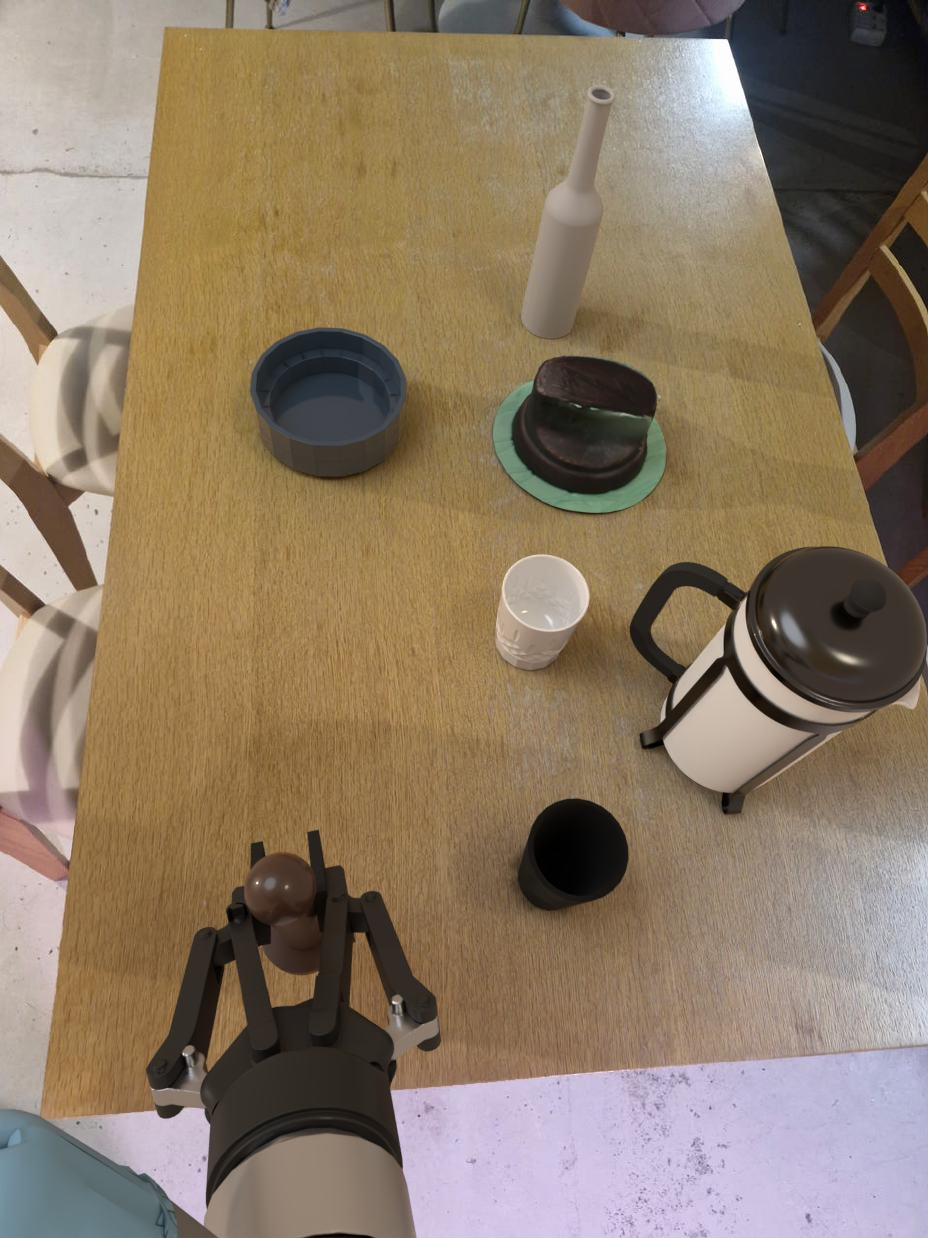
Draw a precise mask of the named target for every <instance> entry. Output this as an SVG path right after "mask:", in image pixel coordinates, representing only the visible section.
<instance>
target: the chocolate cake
mask: <svg viewBox="0 0 928 1238" xmlns="http://www.w3.org/2000/svg"><path fill="white" fill-rule="evenodd" d="M658 401H659V402H660V401H661V395H660V394H659V393H657V387H656V386H655V385H654V381H653V380H651V379H650V378H649V377H648V376H647V375H646V374H645V373H644V372H643V371H640V370H638V369H637V368H635V367H634V366H633V365H631V364H628V363H624V362H620V361H617V360H614V359H612V358H609V357H599V356H592V355H586V356H580V355H573V354H571V355H561V356H554V357H552V358H549V359H546V360H544V361H543V362H542V363H541V365H540V366H539V367H538V369H537V372H536V374H535V376H534V378H533V380H531V381H527V382H526V383H523V384H522V385H520V386H519V387H517V388H515V389H514V390H513V391H512V392H511V393H509V395H508V396H507V397H506V398H505V399H504V400H503V402H502V403H501V404H500V406H499V408H498V410H497V412H496V415H495V418H494V421H493V425H492V426H493V428H492V440H493V445H494V451H495V453H496V455H497V458H498V460H499V461H500V463H501V465H502V466H503V468H504V470H505V472H506V474H507V475H509V477H510V478H511V479H512V480H513V481H514V482H515V483H516V484H517V485H518V486H519V487H520V488H522V489H523V490H525V491H526V492H528V494H530V495H532V496H533V497H535V498H537V499H538V500H540V501H541V502H542V503H545V504H548V505H550V506H553V507H556V508H558V509H559V508H560V509H564V510H567V511H573V512H581V513H591V514H592V513H593V514H594V513H595V514H596V513H598V514H599V513H611V512H615V511H616V512H617V511H622V510H625V509H628V508H630V507H633V506H634V505H636V504H638V503H640V502H641V501H642V500H644V499H646V497H647V496H648V495H649V494H650V493H651V492H652V491H654V489H655V488H656V487H657V485H658V483H659V482H660V480H661V478H662V477H663V474H664V471H665V469H666V468H665V467H666V461H667V446H666V440H665V437H664V434H663V431H662V428H661V426H660V424H659V422H658V420H657V419H656V417H655V416H656V412H657V407H658Z"/></svg>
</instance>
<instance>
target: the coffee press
mask: <svg viewBox="0 0 928 1238" xmlns="http://www.w3.org/2000/svg"><path fill="white" fill-rule="evenodd" d="M683 587H691V588H695V589H699V590H701V591H703V592H704V593H707V594H708V595H710V596H712V597H714V598H715V597H716V598H717V599H718V600H719V602H721V603H722V604H724V605H725V606H727V607H728V608H729V609H730V610H731V611H730V613H729V614H728V617H727V619H726V622H725V623H724V624H723V625H722V627H721V628H720V629H719V630H718V632H717V633H716V634H715V635H714V637H713V638H712V639H711V640H710V642H709V643H708V644H707V645H706V647H705V648H703V650H702V651H701V653H700V654H699V655H698V656H697V657H696V659H695V660H694V661H693V662H691V663H689V664H688V665H687V666H685V665H683V664H682V663H679V662H677V661H676V660H674V658H672V657H671V656H669V655H668V654H667V653H666V652H665V651H663V649H661V648H660V647H659V645H657V643H656V641H655V640H654V637H653V635H652V627H653V624H654V623H655V621H656V619H658V616H659V615H660V613H661V611H662V610H663V609H664V607H665V605H666V604H667V602H668V601H669V599H670V598H671V597H672V595H673V593H674V592H675V590H677V589H680V588H683ZM629 636H630V640H631V642H632V645H633V646H634V648H635V650H636V651H637V652H638V654H640V656H641V657H642V658H643V660H644V661H646V662H647V663H648V664H650V665H651V667H653V668H654V669H655V670H656V671H657V672H659V673H660V674H661V675H662V676H664V677H665V678H666V680H667V681H668V682H669V683H671V684H672V685H671V686H670V689H669V691H668V693H667V696H666V698H665V700H664V702H663V704H662V708H661V710H660V711H661V712H660V720H659V721H660V723H659V724H658V725H656V726H654V727H652V728H650V729H647V730H645V731H642V732H640V733H639V734H638V735H639V742H640V746H641V749H642V750H652V749H656V748H660V747H665V749H666V751H667V753H668V755H669V757H670V758H671V760H672V761H673V763H674V764H675V766H676V767H677V768H678V769H679V770H680V771H681V772H682V773H683V774H684V775H686V776H687V777H688V778H689V779H690V780H692V781H693V782H695V783H697V784H699V785H700V786H703V787H705V788H706V789H710V790H712V791H716V792H719V793H721V801H720V807H721V811H722V813H723V814H724V815H726V816H727V815H740V814H742V811H743V808H744V803H745V799H746V796H747V795H749V793H750V792H752V791H753V790H756V789H758V788H761V786H763V785H766V784H767V783H768V782H770V781H771V780H774V779H775V778H776V777H778V776H779V775H781V774H782V773H784V772H785V771H787V770H788V769H789V768H790V767H792V766H793V765H795V764H796V763H798V762H799V761H801V760H802V759H804V758H805V757H806V756H808V755H809V754H811V753H812V752H814V751H815V750H817V749H819V748H820V747H821V746H823V745H824V744H826V743H827V742H828V741H830V740H832V739H833V738H834V737H836V736H837V735H839V734H840V733H841V732H843V731H846V730H849V729H851V728H854V727H855V726H857V725H859V724H861V723H862V722H863V721H866V719H868V718H869V717H871V716H872V715H874V714H875V713H876V712H877V711H879V710H881V709H884V708H886V707H889V706H894V705H899V706H902V707H903V708H905V709H907V710H914V709H915V708H916V707H917V705H918V701H919V696H920V690H921V681H922V680H921V679H922V678H921V677H922V675H923V672H924V669H925V665H926V662H927V656H928V640H927V639H928V633H927V625H926V620H925V616H924V613H923V611H922V608H921V605H920V604H919V601H918V600H917V598H916V596H915V594H914V593H913V591H912V590H911V588H909V586H908V585H907V583H906V582H905V581H904V580H903V579H902V578H901V577H900V576H899V575H898V574H897V573H896V572H895V571H894V570H892V569H891V568H889V566H887V565H886V564H885V563H883V562H881V561H879V560H877V559H876V558H874V557H872V556H870V555H868V554H865V553H864V552H861V551H858V550H854V549H851V548H848V547H846V548H845V547H841V546H835V545H834V546H833V545H820V546H803V547H799V548H794V549H791V550H787V551H785V552H783V553H780V554H779V555H777V556H775V557H774V558H772V559H771V560H770V561H769V562H767V563H766V565H764V566H763V567H762V568H761V569H760V571H759V572H758V573H757V574H756V576H755V578H754V579H753V580H752V582H751V585H750V587H749V589H748V590H746V591H744V590H742V589H741V588H740V587H739V586H737V585H736V584H734V583H733V582H730V581H729V578H727V577H726V576H724V575H723V574H721V573H720V572H719V571H717V570H715V569H713V568H711V567H709V566H707V565H705V564H701V563H698V562H694V561H680V562H675V563H673V564H671V565H670V566H668V567H667V568H665V569H664V570H663V571H662V572H661V573H660V574H659V576H658V577H657V578H656V579H655V580H654V581H653V583H652V584H651V586H650V587H649V589H648V591H647V592H646V594H645V595H644V597H643V599H642V600H641V602H640V604H639V605H638V607H637V608H636V610H635V613H634V614H633V616H632V618H631V621H630V624H629Z"/></svg>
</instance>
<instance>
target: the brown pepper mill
mask: <svg viewBox="0 0 928 1238" xmlns="http://www.w3.org/2000/svg"><path fill="white" fill-rule="evenodd" d="M243 886H244V897H245V902H246V905H247V907H248V909H249V911H250V912H251V914H252V915H253V916H254V917H255V918H256V919H258V920H259V921H260V922H262V923H265V924H267V925H271V944H267V945H263V946H261V948H262V950H263V953H264V955H265V957H266V958H267V959H268V960H269V961H270V962H271V963H272V964H273V965H274V966H275V967H276V968H278V969H279V970H280V971H282V972H284V973H286V974H289V975H292V976H293V975H294V976H309V975H313V974H316V973H319V964H320V955H321V946H322V937H323V932H321V933H320V930H319V924H318V919H317V913H316V907H315V900H314V899H315V895H316V878H315V875H314V872H313V870H312V869H311V867H310V863H308V862H307V861H306V860H305V859H304V858H303V857H301V856H299V855H298V854H296V853H292V852H287V851H279V852H273V853H270V854H266V856H265V857H263V858H262V859H260V860H259V861H258V862H257V863H256V864H255V865H254V866H253V867H252V869H251V870H250V869H249V872H248V874H247V876H246V877H245V882H244V885H243Z"/></svg>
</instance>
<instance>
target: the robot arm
mask: <svg viewBox="0 0 928 1238" xmlns="http://www.w3.org/2000/svg"><path fill="white" fill-rule="evenodd" d="M306 835H307V846H308V856H309V866H310V867H311V869H312V870H313V872H314V875H315V878H316V895H315V899H314V900H315V907H316V913H317V919H318V924H319V930H320V933H321V932H323V937H322V946H321V955H320V964H319V971H318V972H317V973H318V974H316V975H315V979H314V989H313V995H312V996H313V997H311V998H309V999H306V1000H304V1001H302V1002H299V1003H296V1004H294V1005H277V1006H272V1001H271V998H270V994H269V988H268V986H267V980H266V977H265V972H264V968H263V964H262V958H261V956H260V951H259V947H262V946H263V945H267V944H271V925H267V924H265V923H262V922H260V921H259V920H258V919H256V918H255V917H254V916H253V915H252V914H251V912H250V911H249V909H248V907H247V905H246V902H245V897H244V886H245V885H240V886H236V887H235V888H234V889H233V890H232V891H231V903H230V904H228V905H227V906H226V908H225V914H226V918H227V923H226V925H224V926H223V927H221V928H219V929H216V928H215V927H214V926H205V927H202V928H200V929H198V930H197V931H196V932H195V933H194V935H193V938H192V942H191V947H190V950H189V954H188V957H187V962H186V966H185V969H184V973H183V977H182V981H181V984H180V989H179V992H178V996H177V999H176V1004H175V1008H174V1012H173V1016H172V1019H171V1024H170V1026H169V1030H168V1035H167V1036H166V1038H165V1039H164V1040H163V1042H162V1044H161V1045H160V1047H158V1049H157V1051H156V1052H155V1054H154V1055H153V1057H152V1058H151V1060H150V1061H149V1063H147V1066H146V1068H145V1073H146V1077H147V1078H146V1079H147V1081H148V1085H149V1088H150V1092H151V1095H152V1099H153V1103H154V1107H155V1110H156V1113H157V1114H156V1115H157V1116H158V1117H159V1118H161V1119H163V1120H169V1119H172V1118H175V1117H176V1116H178V1115H179V1114H180V1113H181V1112H182V1111H183V1110H184V1108H185V1107H188V1108H195V1109H201V1110H204V1111H203V1112H204V1113H203V1114H204V1117H205V1120H206V1122H207V1123H208V1124H209V1136H208V1150H207V1151H208V1152H207V1153H208V1154H207V1165H206V1166H207V1168H206V1182H205V1183H206V1184H205V1207H206V1211H205V1214H204V1216H203V1224H202V1223H201V1222H199V1220H197V1219H195V1217H193V1216H192V1215H190V1214H189V1213H188V1212H186V1210H184V1209H183V1208H182V1207H180V1206H179V1205H178V1204H176V1203H175V1202H174V1201H173V1200H171V1199H170V1198H169V1196H168V1194H167V1193H166V1191H165V1190H164V1189H163V1188H162V1186H161V1185H159V1183H157V1182H156V1180H155V1179H153V1178H152V1177H151V1176H150V1175H149V1174H147V1173H146V1172H142V1173H139V1174H138V1173H137V1172H136V1171H134V1169H133V1168H131V1167H130V1165H122V1164H119V1163H117V1162H115V1161H114V1160H112V1159H110V1158H108V1156H106V1155H104V1154H103V1153H101V1152H99V1151H98V1150H95V1149H94V1148H92V1147H91V1146H89V1145H88V1144H86V1143H84V1142H83V1141H81V1140H80V1139H78V1138H76V1137H74V1136H73V1135H72V1134H69V1133H68V1132H66V1131H65V1130H64V1129H62V1128H60V1127H58V1126H56V1125H55V1124H53V1123H52V1122H50V1121H49V1120H47V1119H45V1118H44V1117H42V1116H41V1115H39V1114H35V1113H33V1112H29V1111H24V1110H22V1109H15V1108H0V1238H418V1237H417V1232H416V1225H415V1221H414V1214H413V1210H412V1204H411V1198H410V1192H409V1186H408V1183H407V1179H406V1177H405V1173H404V1161H403V1153H402V1148H401V1141H400V1136H399V1132H398V1131H399V1130H398V1125H397V1119H396V1113H395V1107H394V1102H393V1101H394V1100H393V1096H392V1091H391V1087H392V1083H393V1081H394V1078H395V1076H396V1073H397V1069H398V1063H397V1059H399V1058H401V1057H402V1056H403V1055H405V1054H406V1053H408V1052H410V1051H411V1050H413V1049H414V1048H415V1047H416V1048H417V1049H419V1050H420V1051H422V1052H432V1051H435V1050H437V1049H438V1048H439V1047H440V1046H441V1043H442V1036H441V1035H442V1034H441V1027H440V1026H441V1025H440V1019H439V1011H438V1003H437V997H436V996H435V994H434V993H433V992H432V991H431V990H430V989H429V988H427V987H426V986H425V985H424V984H423V983H422V982H421V981H420V980H418V979H417V978H416V977H415V976H414V974H413V971H412V969H411V967H410V964H409V961H408V959H407V957H406V954H405V952H404V948H403V947H402V944H401V941H400V939H399V936H398V933H397V932H396V928H395V926H394V924H393V921H392V918H391V916H390V913H389V911H388V909H387V905H386V903H385V900H384V898H383V896H382V894H381V892H379V891H377V890H368V891H366V892H363V893H362V894H361V895H360V897H354V896H352V895H350V894H349V892H348V885H347V880H346V872H345V869H344V867H343V866H342V865H341V864H338V865H332V866H327V867H326V863H325V857H324V852H323V845H322V839H321V834H320V829H316V830H310V831H307V832H306ZM249 856H250V860H249V861H250V863H249V866H250V867H249V871H250V870H251V869H252V867H253V866H254V865H255V864H256V863H257V862H258V861H259V860H260V859H262V858H263V857H265V856H267V854H266V849H265V844H264V841H263V840H261V841H256V842H255V841H254V842H251V843H250V855H249ZM355 934H364V936H365V938H366V939H365V940H366V942H367V944H368V948H369V950H370V954H371V956H372V960H373V962H374V965H375V968H376V971H377V974H378V977H379V979H380V982H381V985H382V989H383V992H384V994H385V998H386V1000H387V1003H388V1008H387V1009H386V1021H387V1026H386V1028H385V1029H384V1028H383V1027H381V1026H379V1025H378V1024H377V1023H375V1022H374V1021H372V1020H370V1019H369V1018H367V1017H366V1016H365V1015H363V1014H361V1013H360V1012H359V1011H357V1010H355V1009H354V1008H352V1007H351V1006H350V1004H351V988H352V987H351V985H352V972H353V971H352V970H353V953H354V943H356V936H355ZM233 961H235V965H236V970H237V975H238V981H239V987H240V992H241V999H242V1004H243V1009H244V1010H243V1011H244V1015H245V1021H246V1025H245V1027H244V1028H243V1029H242V1031H240V1032H239V1034H238V1035H237V1037H235V1039H234V1040H233V1041H232V1043H231V1044H230V1045H229V1046H228V1048H227V1049H226V1050H225V1051H224V1052H223V1054H222V1055H221V1056H220V1057H219V1058H218V1060H217V1061H216V1062H215V1063H214V1065H213V1066H212V1067H211V1068H210V1069H208V1068H209V1067H208V1064H207V1061H208V1056H209V1051H210V1046H211V1040H212V1035H213V1031H214V1025H215V1020H216V1016H217V1011H218V1006H219V999H220V995H221V990H222V984H223V981H224V980H223V979H224V975H225V970H226V968H225V967H226V966H225V965H227V964H229V963H232V962H233Z"/></svg>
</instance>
